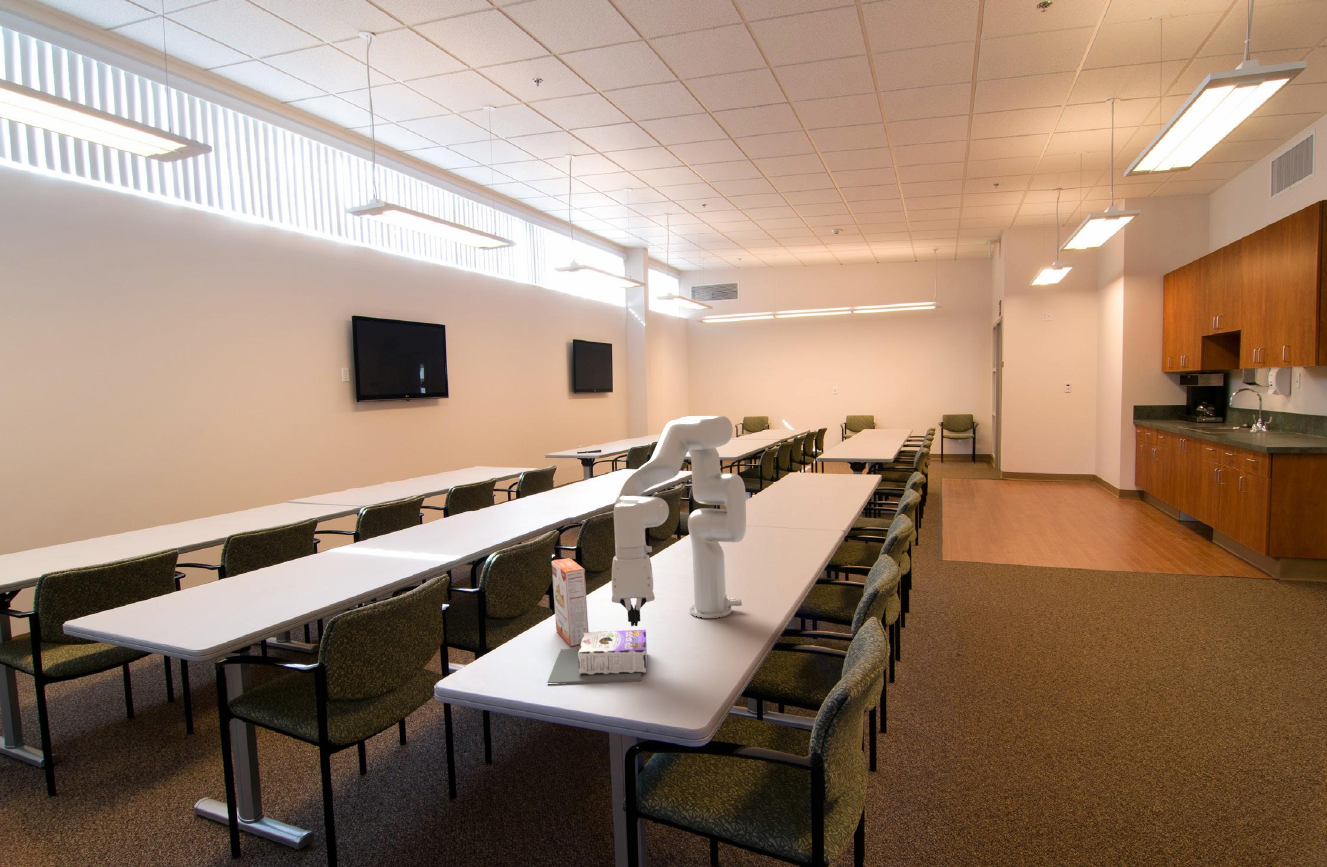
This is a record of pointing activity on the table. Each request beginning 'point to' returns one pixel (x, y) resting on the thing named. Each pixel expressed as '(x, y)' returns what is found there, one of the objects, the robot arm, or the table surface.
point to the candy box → (613, 652)
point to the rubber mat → (569, 673)
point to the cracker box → (570, 600)
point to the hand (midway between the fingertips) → (634, 624)
